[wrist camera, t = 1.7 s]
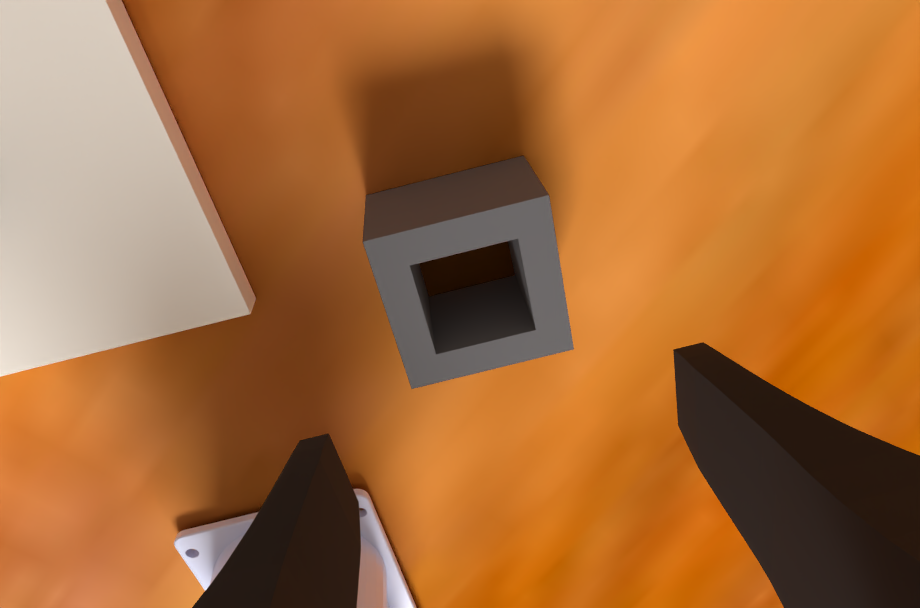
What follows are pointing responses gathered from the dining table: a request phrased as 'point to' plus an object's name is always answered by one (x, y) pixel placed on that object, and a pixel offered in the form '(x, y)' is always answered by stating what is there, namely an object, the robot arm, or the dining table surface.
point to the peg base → (98, 194)
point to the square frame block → (480, 306)
